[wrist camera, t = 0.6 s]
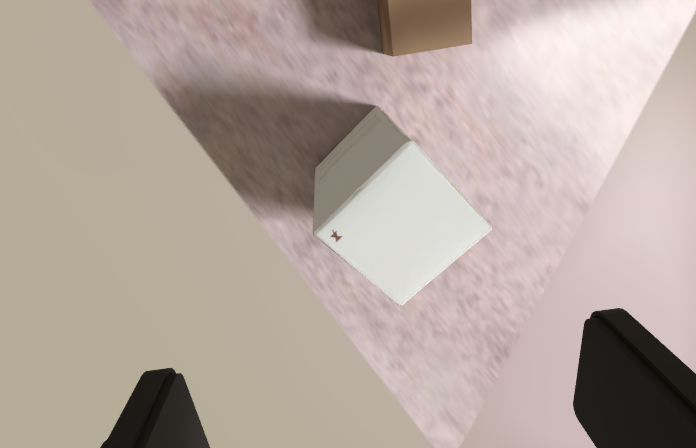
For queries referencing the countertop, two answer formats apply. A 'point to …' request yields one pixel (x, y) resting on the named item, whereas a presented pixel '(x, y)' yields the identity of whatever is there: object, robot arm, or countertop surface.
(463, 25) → the walnut cube
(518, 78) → the countertop surface
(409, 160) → the supplement box
